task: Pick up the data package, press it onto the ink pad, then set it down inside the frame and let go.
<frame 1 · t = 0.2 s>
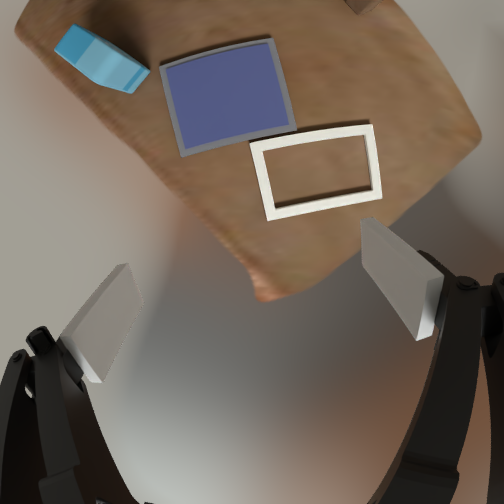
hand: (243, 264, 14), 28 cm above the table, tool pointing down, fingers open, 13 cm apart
ink pad: (226, 94, 34), on the table
frame: (320, 169, 39), on the table
data package: (121, 66, 32), on the table
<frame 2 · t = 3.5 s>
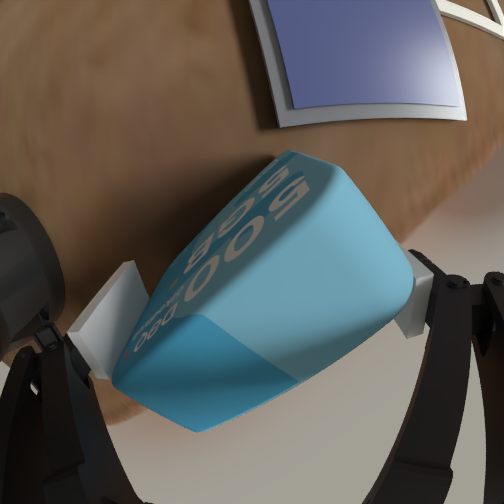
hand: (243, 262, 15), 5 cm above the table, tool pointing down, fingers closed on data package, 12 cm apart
ink pad: (357, 12, 12), on the table
data package: (245, 231, 19), on the table, touching gripper
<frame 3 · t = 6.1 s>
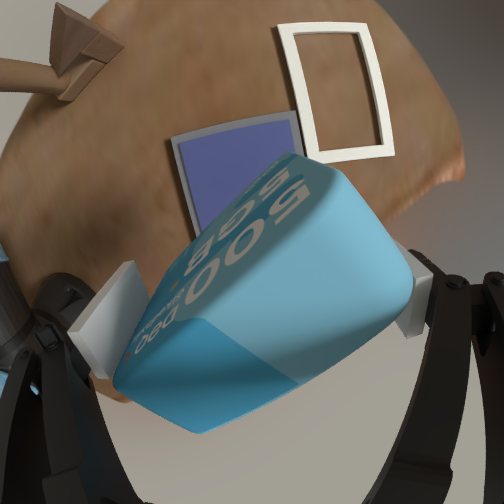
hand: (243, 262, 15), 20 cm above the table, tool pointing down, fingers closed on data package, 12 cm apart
ink pad: (246, 188, 33), on the table
frame: (339, 87, 28), on the table
brown wooden mallet: (92, 67, 26), on the table
data package: (245, 232, 19), point 16 cm above the table, touching gripper
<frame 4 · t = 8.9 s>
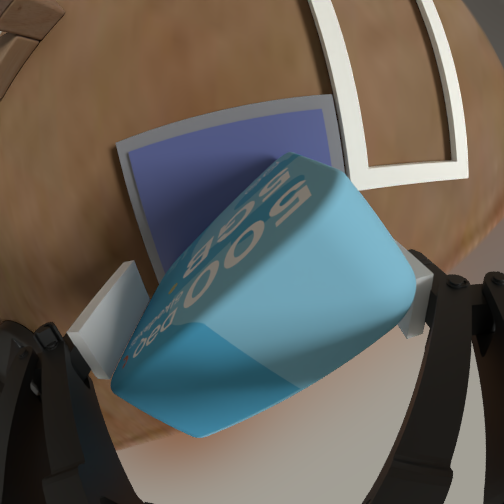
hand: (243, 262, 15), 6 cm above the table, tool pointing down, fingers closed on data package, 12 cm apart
ink pad: (245, 227, 20), on the table
frame: (397, 65, 15), on the table
brown wooden mallet: (26, 49, 12), on the table
data package: (245, 234, 19), point 1 cm above the table, touching gripper, ink pad
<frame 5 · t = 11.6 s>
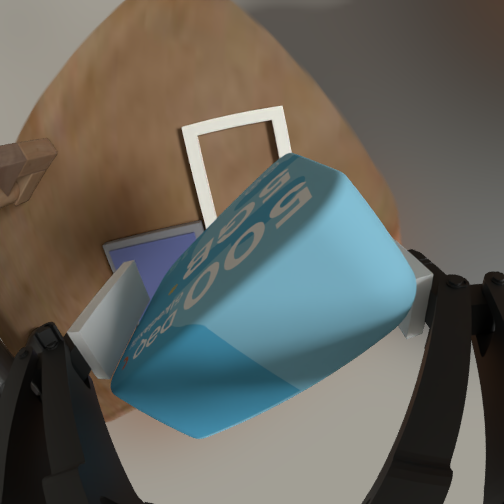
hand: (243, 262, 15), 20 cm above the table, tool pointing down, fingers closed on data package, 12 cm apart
ink pad: (168, 285, 38), on the table
frame: (247, 190, 33), on the table
brown wooden mallet: (37, 169, 31), on the table
data package: (245, 234, 19), point 16 cm above the table, touching gripper
when the fingers open (6 cm above the table, at t = 14.3 s): data package drops 1 cm, resting on frame.
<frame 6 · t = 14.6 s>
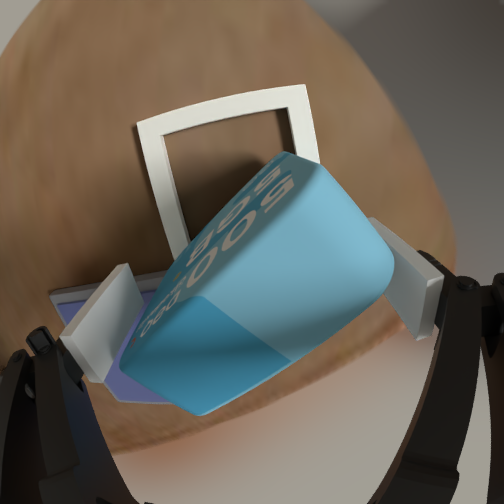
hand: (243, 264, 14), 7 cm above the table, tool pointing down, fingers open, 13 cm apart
ink pad: (138, 349, 26), on the table
frame: (245, 224, 21), on the table
data package: (244, 229, 20), point 1 cm above the table, touching frame
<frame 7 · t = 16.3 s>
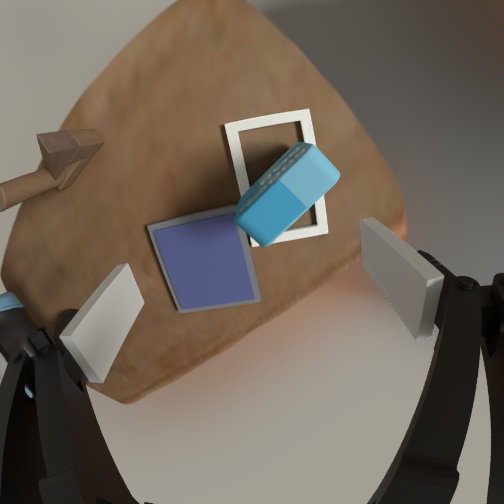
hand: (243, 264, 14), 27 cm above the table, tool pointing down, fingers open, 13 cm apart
ink pad: (206, 262, 45), on the table
frame: (279, 178, 39), on the table
brown wooden mallet: (81, 157, 37), on the table
data package: (279, 180, 38), point 1 cm above the table, touching frame
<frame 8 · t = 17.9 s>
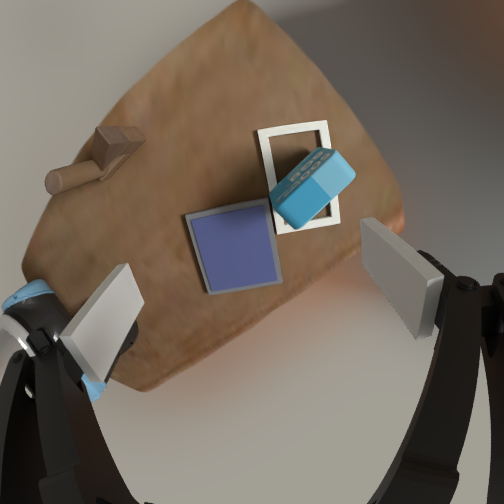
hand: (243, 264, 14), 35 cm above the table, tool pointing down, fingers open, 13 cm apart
ink pad: (236, 248, 52), on the table
frame: (301, 177, 46), on the table
brown wooden mallet: (122, 152, 44), on the table
data package: (301, 178, 46), point 1 cm above the table, touching frame
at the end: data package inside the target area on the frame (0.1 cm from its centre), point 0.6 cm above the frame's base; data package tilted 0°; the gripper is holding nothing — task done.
